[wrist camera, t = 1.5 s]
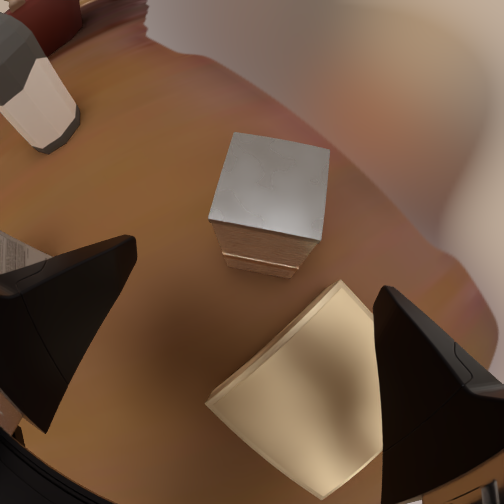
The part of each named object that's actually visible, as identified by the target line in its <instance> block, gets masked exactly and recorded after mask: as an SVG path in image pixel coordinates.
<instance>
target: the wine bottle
mask: <svg viewBox="0 0 504 504" xmlns="http://www.w3.org/2000/svg"><path fill="white" fill-rule="evenodd" d="M0 112H1V113H2V115H3V116H4V117H5V118H6V119H7V120H8V121H9V122H10V123H11V125H12V126H13V127H14V128H15V129H16V130H17V131H18V132H19V133H20V134H21V135H22V136H23V137H24V138H25V139H26V140H27V141H28V142H29V143H30V145H31V146H32V147H34V148H35V149H36V150H37V151H39V152H43V153H46V154H50V153H51V152H53V151H54V150H56V149H58V148H59V147H61V146H62V145H64V144H65V143H67V141H68V140H69V138H70V137H71V136H72V134H73V133H74V132H75V130H76V129H77V128H78V126H79V125H80V110H79V108H78V106H77V105H76V103H75V102H74V100H73V99H72V97H71V95H70V94H69V92H68V91H67V89H66V88H65V86H64V85H63V83H62V81H61V80H60V78H59V77H58V75H57V73H56V72H55V70H54V69H53V67H52V65H51V64H50V62H49V60H48V59H47V57H46V55H45V54H44V52H43V50H42V48H41V47H40V45H39V43H38V41H37V40H36V38H35V36H34V34H33V32H32V31H31V30H30V29H29V28H28V27H26V26H25V25H24V24H23V23H22V22H20V21H19V20H17V19H16V18H14V17H12V16H10V15H7V14H4V13H1V12H0Z"/></svg>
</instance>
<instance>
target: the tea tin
mask: <svg viewBox="0 0 504 504" xmlns="http://www.w3.org/2000/svg"><path fill="white" fill-rule="evenodd" d="M329 155H330V150H329V149H325V148H320V147H316V146H311V145H307V144H302V143H297V142H292V141H287V140H281V139H276V138H270V137H264V136H257V135H251V134H244V133H236V132H234V134H233V137H232V140H231V143H230V146H229V150H228V153H227V156H226V159H225V162H224V166H223V169H222V172H221V175H220V179H219V182H218V186H217V189H216V192H215V196H214V199H213V203H212V206H211V210H210V213H209V217H208V220H209V222H210V223H212V226H213V229H214V231H215V234H216V237H217V239H218V242H219V244H220V247H221V250H222V252H223V256H224V258H225V260H226V263H227V265H228V267H232V268H237V269H242V270H247V271H252V272H257V273H262V274H267V275H272V276H277V277H282V278H288V279H290V278H291V277H292V276H293V275H294V273H295V272H296V271H297V270H298V269H299V267H300V265H301V264H302V263H303V261H304V260H305V259H306V257H307V256H308V255H309V253H310V252H311V251H312V249H313V248H314V247H315V245H316V244H319V242H320V241H321V237H322V229H323V220H324V211H325V202H326V192H327V181H328V169H329Z"/></svg>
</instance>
